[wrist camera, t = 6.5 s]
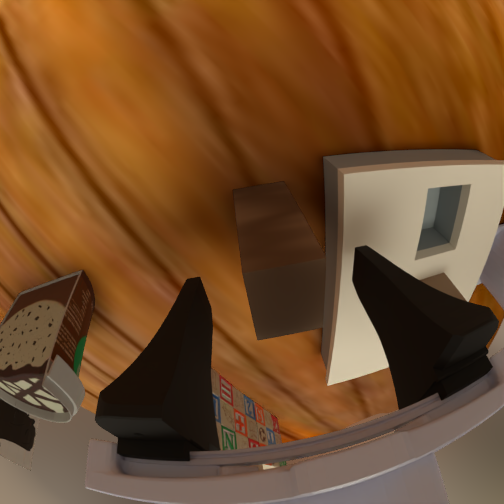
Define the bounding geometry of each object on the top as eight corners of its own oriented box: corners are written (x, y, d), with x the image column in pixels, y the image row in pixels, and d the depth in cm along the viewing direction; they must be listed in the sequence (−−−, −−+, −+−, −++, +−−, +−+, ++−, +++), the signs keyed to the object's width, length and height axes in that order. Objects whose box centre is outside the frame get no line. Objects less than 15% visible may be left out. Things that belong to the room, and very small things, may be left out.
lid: (505, 160, 12) (545, 186, 9) (442, 338, 24) (458, 367, 21) (337, 168, 12) (381, 208, 9) (325, 378, 24) (336, 416, 21)
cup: (28, 321, 20) (-14, 447, 8) (67, 359, 24) (42, 475, 12) (3, 328, 21) (-34, 433, 9) (38, 362, 25) (13, 461, 13)
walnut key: (283, 181, 16) (326, 257, 10) (289, 238, 18) (322, 327, 12) (232, 189, 16) (242, 273, 10) (243, 246, 18) (257, 340, 12)
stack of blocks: (278, 417, 37) (290, 486, 27) (243, 425, 38) (250, 492, 28) (203, 360, 25) (207, 480, 15) (155, 373, 26) (149, 479, 16)
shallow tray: (477, 150, 15) (502, 164, 12) (430, 319, 26) (441, 337, 24) (322, 156, 15) (343, 173, 12) (321, 353, 27) (328, 376, 24)
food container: (48, 336, 22) (22, 417, 14) (12, 295, 18) (-28, 377, 10) (136, 320, 21) (117, 431, 13) (96, 264, 17) (47, 386, 9)
